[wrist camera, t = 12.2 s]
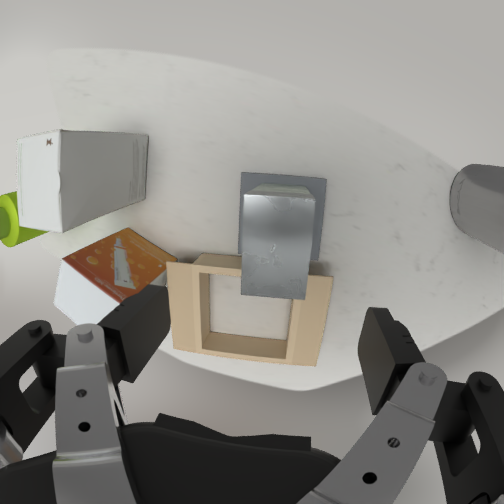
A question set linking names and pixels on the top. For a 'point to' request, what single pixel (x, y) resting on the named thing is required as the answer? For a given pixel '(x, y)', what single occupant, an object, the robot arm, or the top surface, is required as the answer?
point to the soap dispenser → (13, 222)
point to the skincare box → (77, 176)
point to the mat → (312, 184)
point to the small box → (108, 275)
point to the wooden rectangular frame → (234, 346)
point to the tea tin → (277, 241)
